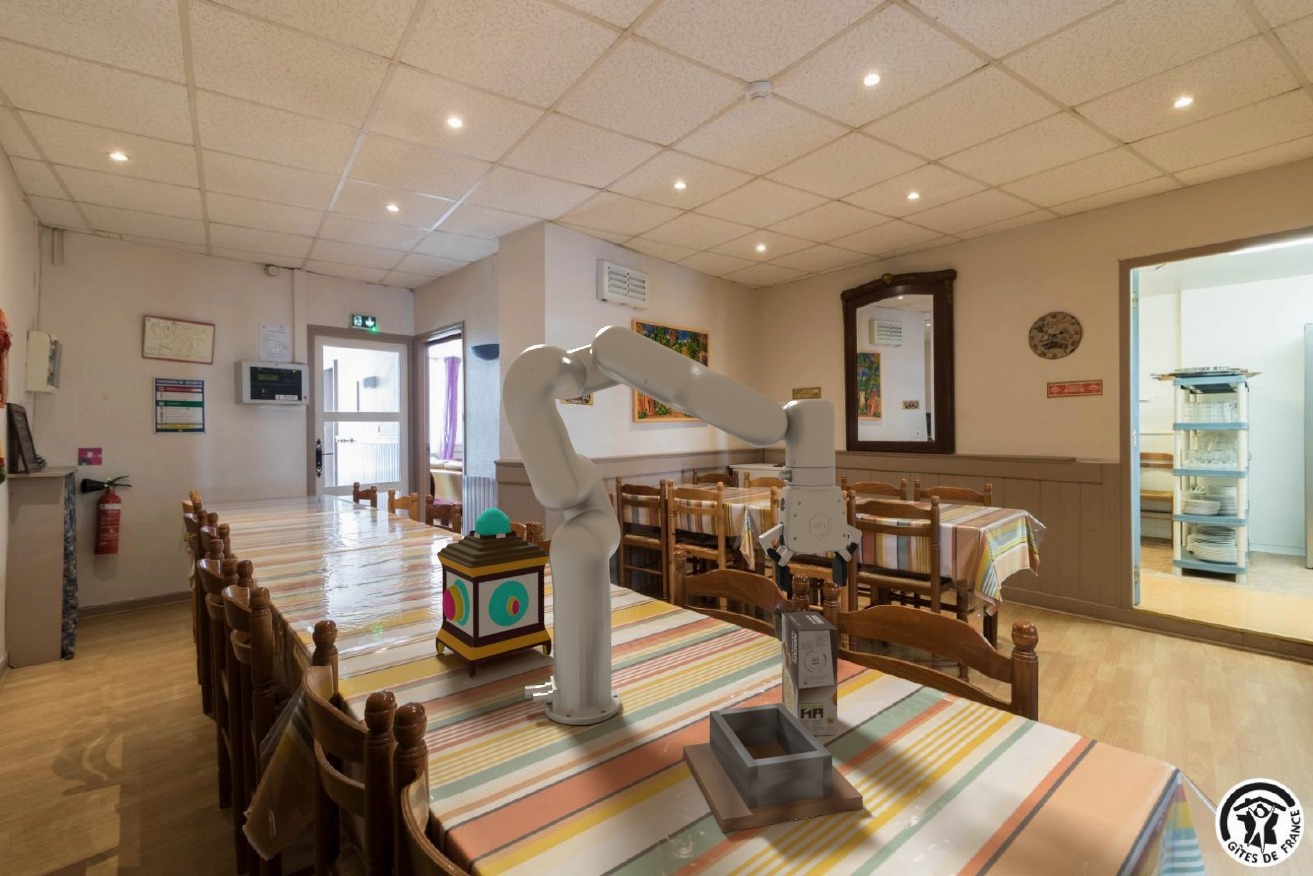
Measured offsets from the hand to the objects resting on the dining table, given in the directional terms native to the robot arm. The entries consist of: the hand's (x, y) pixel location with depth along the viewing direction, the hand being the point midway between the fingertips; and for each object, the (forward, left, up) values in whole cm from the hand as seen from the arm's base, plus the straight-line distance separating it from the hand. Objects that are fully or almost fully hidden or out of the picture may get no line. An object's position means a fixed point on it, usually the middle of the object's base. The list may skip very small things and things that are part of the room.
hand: (811, 587), depth 93 cm
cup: (+11, +28, -22) cm, 37 cm away
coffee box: (0, 0, -22) cm, 22 cm away
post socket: (-13, -13, -21) cm, 28 cm away
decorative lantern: (-49, +40, -22) cm, 67 cm away
